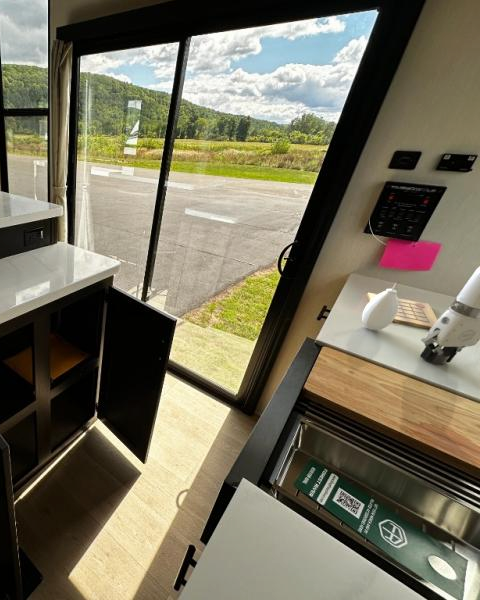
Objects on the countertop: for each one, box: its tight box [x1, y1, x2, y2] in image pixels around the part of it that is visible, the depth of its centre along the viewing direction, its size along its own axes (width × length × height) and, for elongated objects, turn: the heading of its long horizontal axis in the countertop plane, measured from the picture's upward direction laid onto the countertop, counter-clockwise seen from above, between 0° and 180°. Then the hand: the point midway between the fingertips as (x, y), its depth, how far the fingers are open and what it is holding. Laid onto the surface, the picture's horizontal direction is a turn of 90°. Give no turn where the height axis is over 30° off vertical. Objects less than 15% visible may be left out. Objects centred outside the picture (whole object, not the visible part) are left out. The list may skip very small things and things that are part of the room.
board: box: [366, 292, 439, 331], centre depth 116 cm, size 18×18×1 cm
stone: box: [430, 348, 450, 366], centre depth 94 cm, size 4×4×3 cm
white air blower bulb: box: [361, 282, 399, 331], centre depth 104 cm, size 8×8×18 cm
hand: (434, 358), depth 95 cm, fingers closed on stone, 4 cm apart
